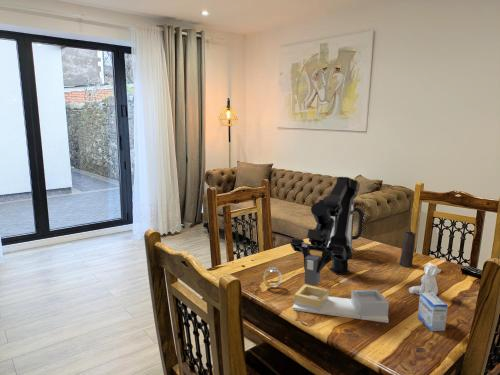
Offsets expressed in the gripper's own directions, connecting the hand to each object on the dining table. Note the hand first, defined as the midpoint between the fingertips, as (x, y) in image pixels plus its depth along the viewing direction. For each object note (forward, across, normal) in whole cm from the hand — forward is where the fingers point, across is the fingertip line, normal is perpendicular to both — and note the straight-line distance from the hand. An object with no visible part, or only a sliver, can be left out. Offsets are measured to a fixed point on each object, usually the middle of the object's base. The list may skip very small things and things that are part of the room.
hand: (311, 271), depth 122 cm
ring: (+5, -18, +14) cm, 23 cm away
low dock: (+8, 0, +10) cm, 13 cm away
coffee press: (-33, -7, +52) cm, 62 cm away
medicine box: (+3, +36, +15) cm, 40 cm away
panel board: (+6, +9, +12) cm, 16 cm away
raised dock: (+4, +18, +13) cm, 23 cm away
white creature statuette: (-12, +34, +30) cm, 46 cm away
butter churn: (-30, +24, +48) cm, 62 cm away
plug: (+2, 0, +4) cm, 5 cm away
